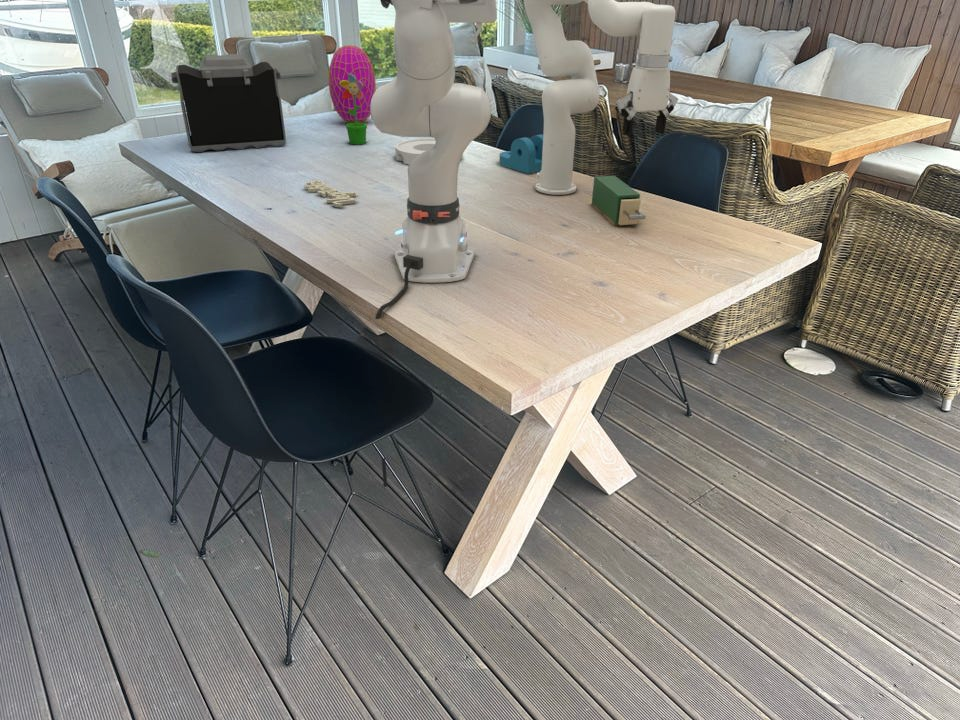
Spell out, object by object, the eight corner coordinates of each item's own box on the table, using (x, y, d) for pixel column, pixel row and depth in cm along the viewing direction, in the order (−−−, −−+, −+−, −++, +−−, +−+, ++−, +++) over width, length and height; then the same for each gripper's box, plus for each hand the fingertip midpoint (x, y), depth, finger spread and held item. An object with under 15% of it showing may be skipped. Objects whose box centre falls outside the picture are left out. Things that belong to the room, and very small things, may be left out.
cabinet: (636, 224, 186) (640, 194, 181) (614, 226, 184) (618, 195, 180) (611, 203, 201) (614, 175, 197) (591, 204, 200) (594, 176, 196)
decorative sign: (368, 198, 199) (337, 205, 193) (368, 202, 199) (337, 208, 194) (326, 178, 217) (297, 183, 211) (326, 181, 217) (297, 186, 212)
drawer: (645, 230, 179) (648, 205, 176) (627, 231, 178) (630, 207, 175) (613, 204, 198) (616, 181, 195) (597, 205, 197) (599, 182, 194)
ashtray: (454, 167, 232) (454, 155, 230) (388, 164, 235) (387, 152, 233) (466, 151, 252) (466, 140, 250) (404, 148, 255) (404, 137, 253)
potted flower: (342, 144, 260) (336, 73, 247) (351, 139, 266) (346, 70, 254) (365, 146, 257) (360, 74, 245) (374, 141, 264) (369, 71, 251)
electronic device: (283, 133, 274) (272, 51, 259) (291, 146, 256) (280, 59, 241) (185, 140, 262) (168, 54, 247) (186, 153, 245) (167, 62, 229)
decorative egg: (362, 116, 305) (357, 42, 290) (386, 123, 292) (382, 46, 277) (324, 121, 294) (316, 45, 279) (347, 129, 281) (340, 49, 266)
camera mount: (550, 168, 233) (552, 137, 227) (527, 173, 227) (529, 141, 222) (515, 157, 245) (516, 127, 239) (493, 162, 239) (493, 131, 234)
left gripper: (409, -22, 157) (411, 44, 164) (498, -21, 158) (496, 45, 165) (410, -23, 163) (412, 41, 170) (496, -22, 163) (495, 42, 170)
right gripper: (673, 58, 173) (663, 128, 182) (613, 61, 167) (606, 133, 176) (691, 62, 167) (680, 134, 176) (630, 65, 161) (621, 139, 170)
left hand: (454, 43), depth 167 cm, fingers open, 8 cm apart
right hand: (643, 133), depth 176 cm, fingers open, 9 cm apart
